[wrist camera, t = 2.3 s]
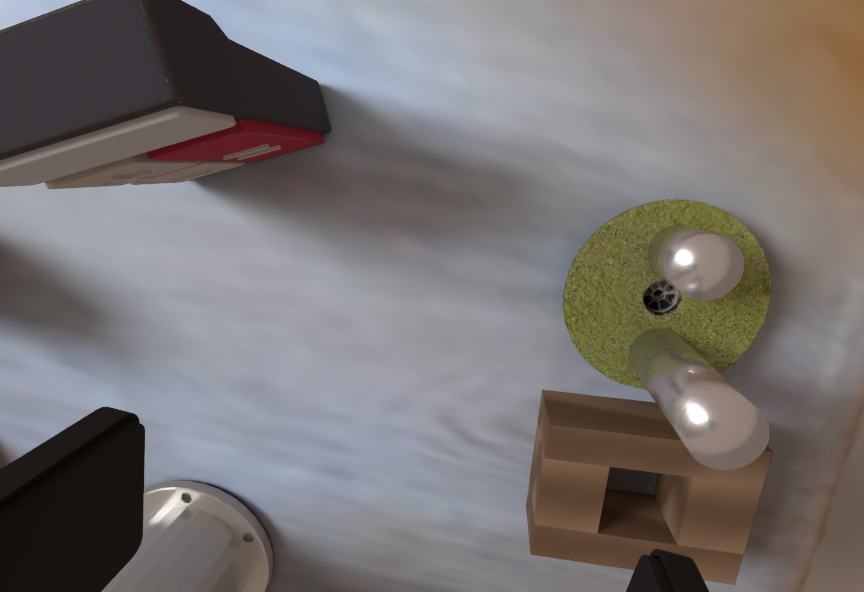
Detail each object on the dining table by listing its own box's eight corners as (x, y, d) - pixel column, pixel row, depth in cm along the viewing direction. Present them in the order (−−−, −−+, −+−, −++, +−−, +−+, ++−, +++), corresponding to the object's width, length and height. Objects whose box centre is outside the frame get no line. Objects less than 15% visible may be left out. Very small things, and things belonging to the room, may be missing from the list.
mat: (777, 207, 28) (798, 210, 26) (728, 388, 31) (743, 402, 29) (575, 188, 29) (581, 190, 27) (546, 364, 32) (550, 377, 30)
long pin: (680, 382, 29) (759, 474, 20) (624, 376, 29) (678, 464, 21) (691, 331, 28) (778, 405, 19) (634, 325, 28) (694, 396, 20)
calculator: (180, 187, 32) (-80, 205, 17) (156, 119, 31) (-141, 79, 16) (337, 144, 30) (190, 124, 15) (317, 70, 29) (140, -25, 14)
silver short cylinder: (701, 284, 27) (735, 303, 24) (642, 279, 28) (666, 297, 24) (714, 227, 27) (751, 237, 23) (653, 222, 27) (679, 231, 23)
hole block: (703, 530, 33) (734, 584, 29) (526, 505, 35) (530, 554, 30) (734, 411, 31) (772, 451, 27) (542, 389, 32) (549, 424, 28)
